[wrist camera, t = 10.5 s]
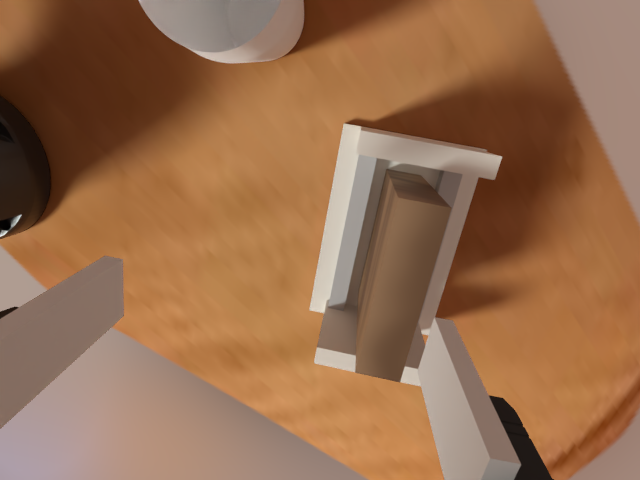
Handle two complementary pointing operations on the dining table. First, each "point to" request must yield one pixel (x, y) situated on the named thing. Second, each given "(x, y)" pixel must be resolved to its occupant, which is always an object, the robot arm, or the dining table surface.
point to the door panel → (397, 272)
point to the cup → (230, 27)
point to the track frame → (358, 219)
